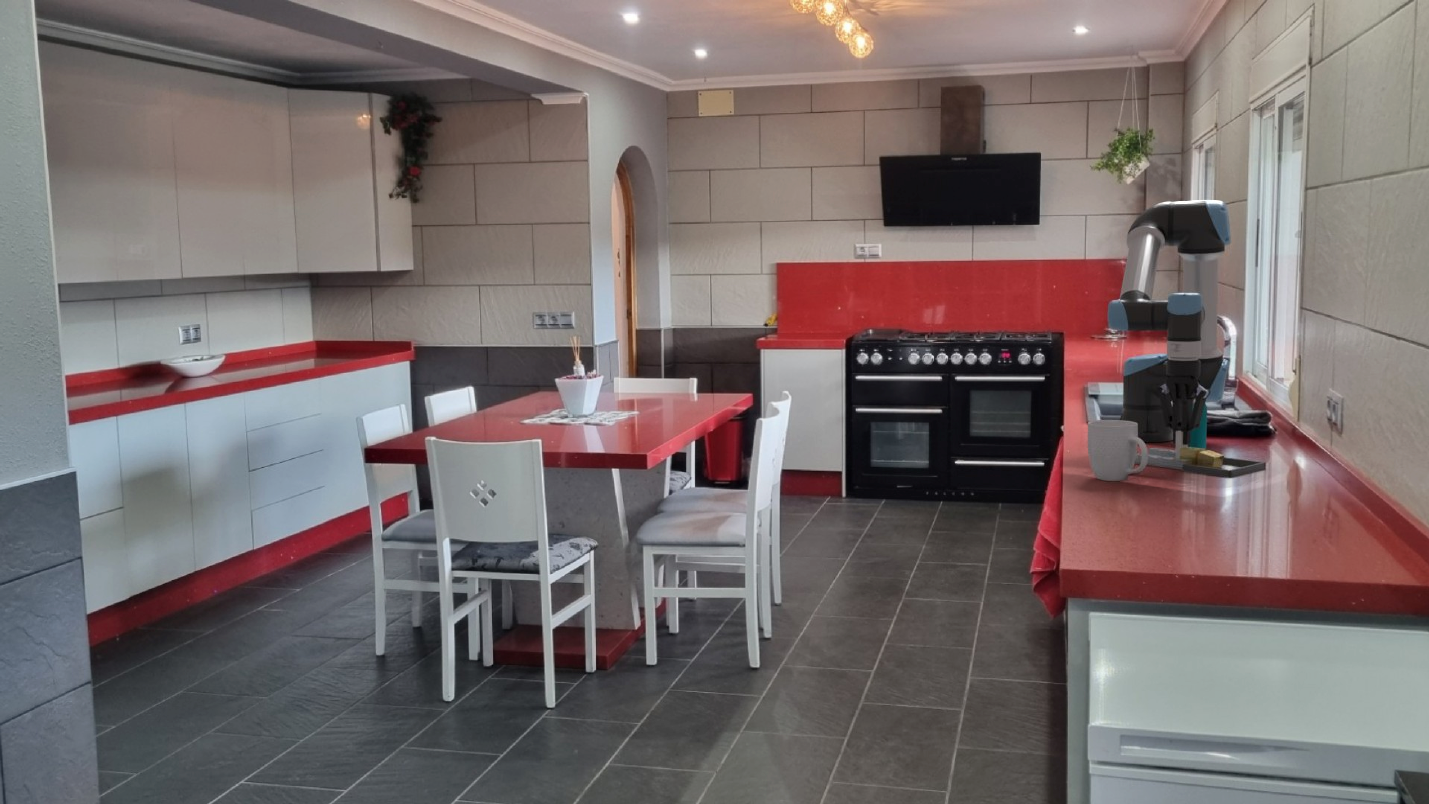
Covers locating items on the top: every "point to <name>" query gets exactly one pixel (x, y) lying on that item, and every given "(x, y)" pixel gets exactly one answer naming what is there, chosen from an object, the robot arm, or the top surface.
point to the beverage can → (1200, 431)
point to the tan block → (1190, 454)
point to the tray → (1245, 469)
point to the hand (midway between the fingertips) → (1181, 457)
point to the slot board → (1163, 459)
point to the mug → (1114, 449)
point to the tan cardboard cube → (1210, 459)
